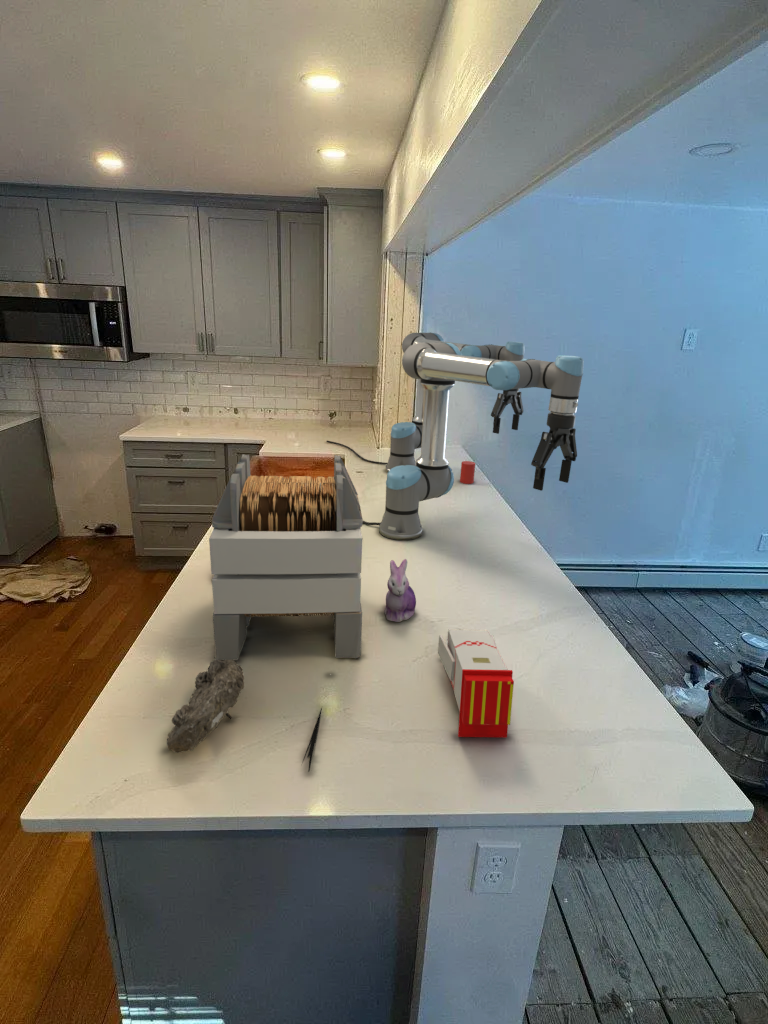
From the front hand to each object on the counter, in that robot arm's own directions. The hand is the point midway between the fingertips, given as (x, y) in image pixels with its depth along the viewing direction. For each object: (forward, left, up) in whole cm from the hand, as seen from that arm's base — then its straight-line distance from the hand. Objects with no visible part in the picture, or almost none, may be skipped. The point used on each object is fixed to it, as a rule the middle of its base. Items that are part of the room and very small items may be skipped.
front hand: (550, 485), depth 166 cm
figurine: (-6, -52, -28) cm, 60 cm away
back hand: (-59, +55, -1) cm, 81 cm away
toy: (+26, -62, -28) cm, 73 cm away
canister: (-78, +55, -28) cm, 99 cm away
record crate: (-20, -76, -28) cm, 84 cm away
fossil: (+1, -107, -28) cm, 111 cm away
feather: (+14, -91, -28) cm, 97 cm away
